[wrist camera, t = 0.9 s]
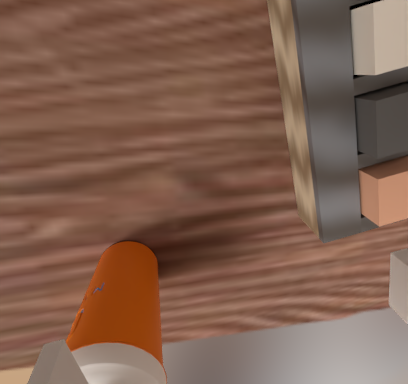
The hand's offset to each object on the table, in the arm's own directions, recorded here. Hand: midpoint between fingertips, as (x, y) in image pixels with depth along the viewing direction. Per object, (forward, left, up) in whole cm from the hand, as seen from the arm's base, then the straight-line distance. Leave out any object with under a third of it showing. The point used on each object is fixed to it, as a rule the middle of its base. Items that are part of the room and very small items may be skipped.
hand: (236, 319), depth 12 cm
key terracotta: (+6, +18, -18) cm, 27 cm away
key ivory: (-8, +18, -18) cm, 27 cm away
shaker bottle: (+11, -11, -24) cm, 28 cm away
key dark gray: (-1, +18, -18) cm, 26 cm away
